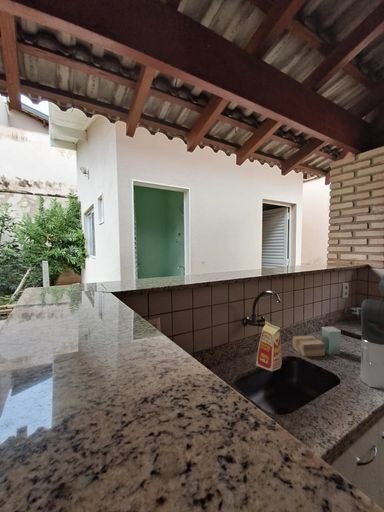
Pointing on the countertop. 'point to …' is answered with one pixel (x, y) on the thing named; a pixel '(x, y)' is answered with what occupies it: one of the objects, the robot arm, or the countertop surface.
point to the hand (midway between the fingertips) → (351, 313)
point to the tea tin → (331, 339)
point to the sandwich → (308, 346)
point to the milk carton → (269, 348)
